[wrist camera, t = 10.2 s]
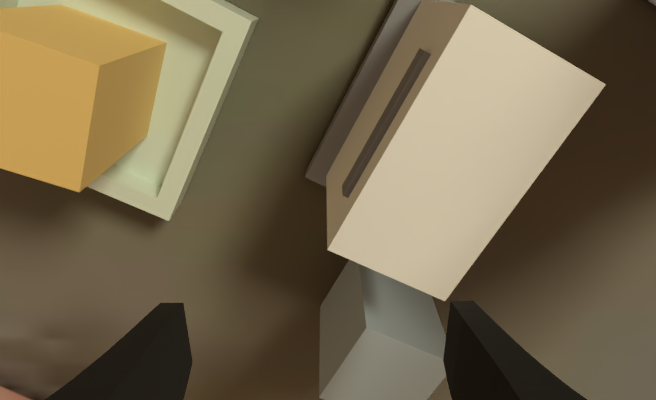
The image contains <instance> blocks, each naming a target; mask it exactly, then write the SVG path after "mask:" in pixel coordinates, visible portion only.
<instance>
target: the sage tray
mask: <svg viewBox="0 0 656 400" xmlns="http://www.w3.org/2000/svg"><path fill="white" fill-rule="evenodd" d="M46 5H65V6H67V7H70V8H73V9H76V10H78V11H81V12H84V13H87V14H89V15H92V16H95V17H98V18H101V19H103V20H106V21H109V22H112V23H114V24H117V25H120V26H123V27H125V28H128V29H131V30H134V31H137V32H139V33H142V34H145V35H148V36H150V37H153V38H156V39H159V40H161V41H164V42H167V45H166V50H165V54H164V59H163V64H162V69H161V73H160V78H159V83H158V87H157V92H156V97H155V102H154V106H153V111H152V116H151V121H150V125H149V130H148V135H147V137H145V138H144V139H143V140H142V141H141V142H139V143H138V144H137V145H136V146H135V147H133V148H132V149H131V150H130V151H129V152H127V153H126V154H125V155H124V156H123V157H121V158H120V159H119V160H118V161H117V162H115V163H114V164H113V165H112V166H111V167H109V168H108V169H107V170H106V171H105V172H103V173H102V174H101V175H100V176H99V177H97V178H96V179H95V180H94V181H93V182H91V183H90V184H89V185H88V186H87V187H89V188H91V189H94V190H96V191H98V192H101V193H103V194H106V195H108V196H110V197H113V198H115V199H117V200H120V201H122V202H125V203H127V204H129V205H132V206H134V207H136V208H139V209H141V210H144V211H146V212H148V213H151V214H153V215H156V216H158V217H160V218H163V219H165V220H167V221H169V220H170V219H171V217H172V216H173V214H174V213H175V211H176V210H177V208H178V207H179V205H180V204H181V202H182V200H183V198H184V195H185V193H186V191H187V188H188V186H189V184H190V181H191V179H192V176H193V174H194V172H195V169H196V167H197V164H198V162H199V160H200V157H201V155H202V153H203V150H204V148H205V145H206V143H207V141H208V138H209V136H210V133H211V131H212V129H213V126H214V124H215V122H216V119H217V117H218V114H219V112H220V110H221V107H222V105H223V102H224V100H225V98H226V95H227V93H228V91H229V88H230V86H231V83H232V81H233V79H234V76H235V74H236V71H237V69H238V67H239V64H240V62H241V59H242V57H243V55H244V52H245V50H246V48H247V45H248V43H249V40H250V38H251V36H252V33H253V31H254V28H255V26H256V24H257V21H258V19H259V18H257V17H255V16H253V15H251V14H250V13H248V12H246V11H244V10H242V9H240V8H238V7H236V6H234V5H233V4H231V3H229V2H227V1H225V0H0V8H12V7H29V6H46Z"/></svg>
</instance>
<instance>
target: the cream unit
mask: <svg viewBox="0 0 656 400" xmlns="http://www.w3.org/2000/svg"><path fill="white" fill-rule="evenodd" d="M605 85H606V84H604V83H603V82H601V81H599V80H598V79H596V78H594V77H593V76H591V75H589V74H587V73H586V72H584V71H582V70H581V69H579V68H577V67H576V66H574V65H572V64H571V63H569V62H567V61H565V60H564V59H562V58H560V57H559V56H557V55H555V54H554V53H552V52H550V51H549V50H547V49H545V48H544V47H542V46H540V45H538V44H537V43H535V42H533V41H532V40H530V39H528V38H527V37H525V36H523V35H522V34H520V33H518V32H516V31H515V30H513V29H511V28H510V27H508V26H506V25H505V24H503V23H501V22H500V21H498V20H496V19H494V18H493V17H491V16H489V15H488V14H486V13H484V12H483V11H481V10H479V9H478V8H476V7H474V6H473V5H470V4H461V3H457V2H455V1H453V0H395V1H394V3H393V5H392V7H391V9H390V11H389V12H388V14H387V16H386V18H385V20H384V22H383V24H382V26H381V28H380V30H379V32H378V33H377V35H376V37H375V39H374V41H373V43H372V45H371V47H370V49H369V51H368V53H367V55H366V56H365V58H364V60H363V62H362V64H361V66H360V68H359V70H358V72H357V74H356V76H355V78H354V79H353V81H352V83H351V85H350V87H349V89H348V91H347V93H346V95H345V97H344V99H343V100H342V102H341V104H340V106H339V108H338V110H337V112H336V114H335V116H334V118H333V120H332V122H331V123H330V125H329V127H328V129H327V131H326V133H325V135H324V137H323V139H322V141H321V143H320V144H319V146H318V148H317V150H316V152H315V154H314V156H313V158H312V160H311V162H310V164H309V166H308V167H307V169H306V172H305V178H307V179H309V180H311V181H314V182H316V183H318V184H320V185H322V186H324V187H326V191H327V250H329V251H331V252H333V253H336V254H338V255H340V256H342V257H345V258H347V259H349V260H352V261H354V262H356V263H358V264H361V265H363V266H365V267H368V268H370V269H372V270H374V271H377V272H379V273H381V274H384V275H386V276H388V277H390V278H393V279H395V280H397V281H400V282H402V283H404V284H406V285H409V286H411V287H413V288H416V289H418V290H420V291H422V292H425V293H427V294H429V295H432V296H434V297H436V298H438V299H441V300H443V301H446V299H447V298H448V297H449V295H450V294H451V293H452V291H453V290H454V289H455V287H456V286H457V285H458V283H459V282H460V280H461V279H462V278H463V276H464V275H465V274H466V272H467V271H468V270H469V268H470V267H471V266H472V264H473V263H474V262H475V260H476V259H477V258H478V256H479V255H480V254H481V252H482V251H483V250H484V248H485V247H486V245H487V244H488V243H489V241H490V240H491V239H492V237H493V236H494V235H495V233H496V232H497V231H498V229H499V228H500V227H501V225H502V224H503V223H504V221H505V220H506V219H507V217H508V216H509V215H510V213H511V212H512V210H513V209H514V208H515V206H516V205H517V204H518V202H519V201H520V200H521V198H522V197H523V196H524V194H525V193H526V192H527V190H528V189H529V188H530V186H531V185H532V184H533V182H534V181H535V180H536V178H537V177H538V175H539V174H540V173H541V171H542V170H543V169H544V167H545V166H546V165H547V163H548V162H549V161H550V159H551V158H552V157H553V155H554V154H555V153H556V151H557V150H558V149H559V147H560V146H561V144H562V143H563V142H564V140H565V139H566V138H567V136H568V135H569V134H570V132H571V131H572V130H573V128H574V127H575V126H576V124H577V123H578V122H579V120H580V119H581V118H582V116H583V115H584V114H585V112H586V111H587V109H588V108H589V107H590V105H591V104H592V103H593V101H594V100H595V99H596V97H597V96H598V95H599V93H600V92H601V91H602V89H603V88H604V87H605Z"/></svg>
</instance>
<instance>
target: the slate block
mask: <svg viewBox="0 0 656 400" xmlns="http://www.w3.org/2000/svg"><path fill="white" fill-rule="evenodd" d="M445 342H446V335H445V332H444V330H443V327H442V324H441V321H440V318H439V315H438V312H437V309H436V307H435V304H434V301H433V298H432V295H429V294H427V293H425V292H422V291H420V290H418V289H416V288H413V287H411V286H409V285H406V284H404V283H402V282H400V281H397V280H395V279H393V278H390V277H388V276H386V275H384V274H381V273H379V272H377V271H374V270H372V269H370V268H368V267H365V266H363V265H361V264H358V263H356V262H354V261H352V260H348V262H347V264H346V265H345V267H344V269H343V270H342V272H341V274H340V275H339V277H338V278H337V280H336V282H335V283H334V285H333V287H332V288H331V290H330V291H329V293H328V295H327V296H326V298H325V300H324V301H323V303H322V304H321V306H320V357H319V398H321V399H324V400H427V399H428V398H429V396H430V395H431V394H432V393H433V391H434V390H435V389H436V388H437V386H438V385H439V384H440V383H441V382H442V380H443V379H444V378H445V377H446V372H445V367H444V362H443V357H444V349H445Z"/></svg>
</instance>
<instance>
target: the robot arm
mask: <svg viewBox="0 0 656 400" xmlns="http://www.w3.org/2000/svg"><path fill="white" fill-rule="evenodd" d="M648 1H649V2H651V3H652V4H654V5H655V6H656V0H648ZM443 362H444V367H445V372H446V376H447V381H448V385H449V390H450V394H451V397H452V400H587V399H585V398H584V397H583V396H581V395H580V394H578V393H577V392H576V391H574V390H573V389H571V388H570V387H569V386H568V385H566V384H565V383H564V382H562V381H561V380H560V379H559V378H557V377H556V376H555V375H554V374H552V373H551V372H550V371H549V370H547V369H546V368H545V367H544V366H543V365H541V364H540V363H539V362H538V361H537V360H536V359H534V358H533V357H532V356H531V355H530V354H529V353H527V352H526V351H525V350H524V349H523V348H522V347H521V346H520V345H519V344H518V343H516V342H515V341H514V340H513V339H512V338H511V337H510V336H509V335H508V334H507V333H506V332H505V331H504V330H503V329H502V328H501V327H500V326H498V325H497V324H496V323H495V322H494V321H493V320H492V319H491V318H490V317H489V316H488V315H487V314H486V313H485V312H484V311H483V310H482V309H481V308H480V307H479V306H478V305H477V304H476V303H475V302H474V301H451V303H450V311H449V319H448V326H447V334H446V342H445V349H444V357H443ZM191 366H192V356H191V350H190V343H189V337H188V331H187V324H186V318H185V311H184V305H183V303H160V304H159V305H158V306H157V307H155V308H154V309H153V310H152V311H151V312H150V313H149V314H148V315H147V316H146V317H144V318H143V319H142V320H141V321H140V322H139V323H138V324H137V325H136V326H135V327H134V328H133V329H131V330H130V331H129V332H128V333H127V334H126V335H125V336H124V337H123V338H121V339H120V340H119V341H118V342H117V343H116V344H115V345H114V346H112V347H111V348H110V349H109V350H108V351H107V352H106V353H105V354H103V355H102V356H101V357H100V358H98V359H97V360H96V361H95V362H93V363H92V364H91V365H90V366H89V367H87V368H86V369H85V370H84V371H82V372H81V373H80V374H79V375H77V376H76V377H75V378H74V379H73V380H71V381H70V382H69V383H67V384H66V385H65V386H63V387H62V388H61V389H59V390H58V391H56V392H55V393H54V394H52V395H51V396H49V397H48V398H47V399H45V400H183V399H184V395H185V391H186V387H187V383H188V379H189V375H190V370H191Z"/></svg>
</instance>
